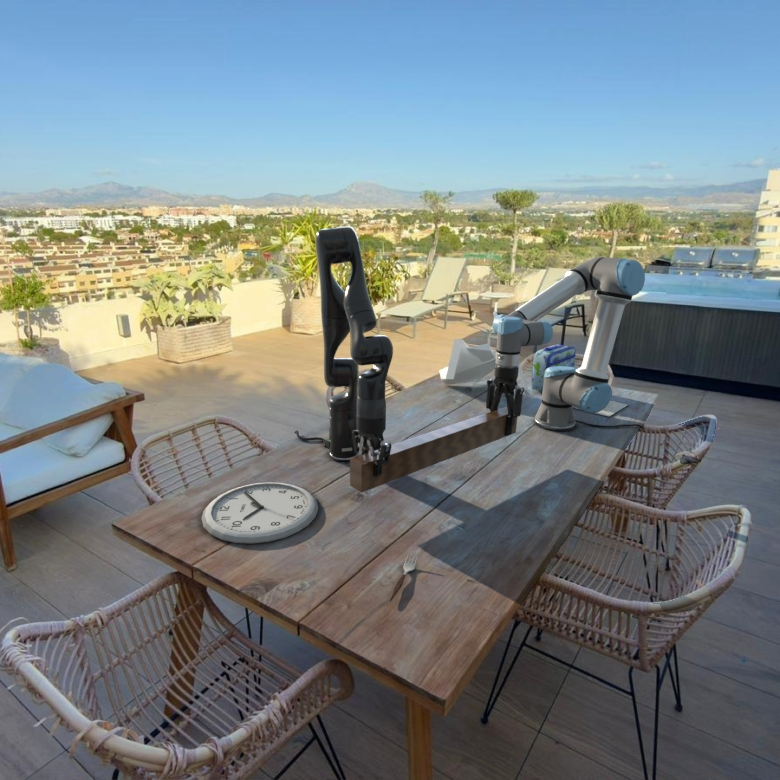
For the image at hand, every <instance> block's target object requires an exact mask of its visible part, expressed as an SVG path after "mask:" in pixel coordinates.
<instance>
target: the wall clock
mask: <svg viewBox="0 0 780 780" xmlns="http://www.w3.org/2000/svg"><path fill="white" fill-rule="evenodd" d="M318 511H319V505H318V501H317V499H316V498H315V496H314V495H313V494H312V493H310V492H309V491H307V490H306V489H304V488H302V487H299V486H297V485H294V484H290V483H285V482H271V481H269V482H256V483H250V484H246V485H242V486H239V487H235V488H233V489H229V490H227V491H226V492H224V493H221V494H219V495H218V496H217V497H216V498H214V499H213V500H211V502H209V503H208V504H207V506H206V507H205V508H204V510H203V511H202V515H201V523H202V527H203V528H204V530H205V531H207V532H208V533H209V535H211V536H213V537H214V538H217V539H219V540H221V541H225V542H230V543H233V544H234V543H235V544H260V543H261V544H262V543H270V542H273V541H277V540H282V539H285V538H287V537H289V536H292V535H294V534H297V533H299V532H300V531H302V530H303V529H304V528H306V527H308V526H309V525H310V524H311V523H312V522H313V521H314V519H315V518H316V516H317V514H318Z"/></svg>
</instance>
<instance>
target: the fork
mask: <svg viewBox="0 0 780 780" xmlns="http://www.w3.org/2000/svg"><path fill="white" fill-rule="evenodd" d="M410 552H411V553H410ZM409 555H410V557H409ZM412 556H413V557H412ZM415 556H416V557H415ZM418 557H419V554H417V555H416V552H414V554H413V551H410V550H409V551H408V553H407V556H406V558H405V562H404V564H403V571H404V572H403V574H402V575H401V576H400V578H399V579H398V580H397V582H396V584H395V586H394V589H393V592H392V594H391V596H390V599H389V602H392V601H393V599H394V597H396V595H397V594H398V592H399V590H400V589H401V587H402V586H403V584H404V581H405V578H406V575H407V573H409V572H412V571H414V570H415V568H416V566H417V561H418Z"/></svg>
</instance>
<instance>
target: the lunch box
mask: <svg viewBox="0 0 780 780" xmlns="http://www.w3.org/2000/svg"><path fill="white" fill-rule="evenodd" d="M576 357H577V355H576V347H575V346H569V345H565V344H554V345H550V346H547V347H544V348H542V349H541V348H540V349H539V350H537V351H536V352H535V353H534V356H533V360H532V367H531V368H532V369H531V382H530V383H531V386H530V387H531V389H532V390H533V391H537V392H542V390H543V378H544V375H545V370H546V369H547V368H549V367H555V366H568V367H574V368H575V364H576Z"/></svg>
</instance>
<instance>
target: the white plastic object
mask: <svg viewBox="0 0 780 780" xmlns="http://www.w3.org/2000/svg"><path fill="white" fill-rule="evenodd" d="M492 315H493V319H495V318H496V317H497V316H498V315H499V314H498V312H497V311H496V310H495V311H492ZM496 350H497V349H496ZM496 350H495V349H493V348H492V347H491V346H490V344H489V343H488V342H487V343H483V344H479V345H473V346H469V345H468V343H466V342H465V340H464V339H463V338H460V339H458V338H454V340H453V344H452V349H451V353H450V357H449V362H448V366H446V367H444V368H442V369H440V370H439V371H438V372H439V376H440V381H442V383H443V384H444V385H445V386H449V385H458V384H467V383H468V384H469V383H473V384H477V383H480V382H482V381H484V378H485V377H486V376H487V375H489V374H490V373H492V372H494V371H495V366H496V365H497V364H496V363H495V362H496ZM518 368H519V370H518V380H519V382H520V385H521V386H520V387H521V388H522V387H523V388H524V389H525V390H524V392H523V394H524V395H525V396H526V397H528V396H531V395H530V390H529V388H528V387H529V386H528V384H527V381H526V378H525V375H524V371H523V369H522V368H523V367H522V366H521V362H520V361H519V365H518ZM514 398H515V389H514Z"/></svg>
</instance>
